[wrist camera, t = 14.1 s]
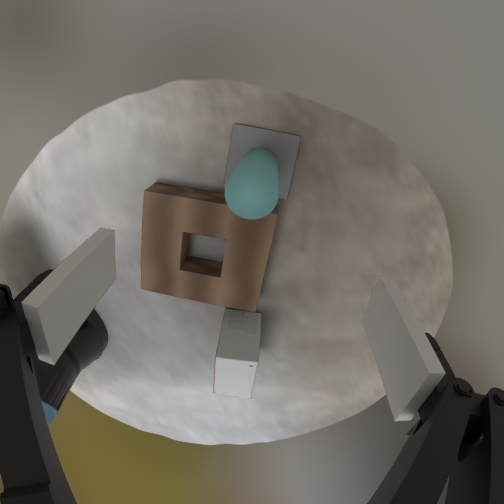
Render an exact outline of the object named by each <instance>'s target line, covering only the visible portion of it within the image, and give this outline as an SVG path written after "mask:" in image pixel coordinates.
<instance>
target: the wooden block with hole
mask: <svg viewBox="0 0 504 504" xmlns="http://www.w3.org/2000/svg"><path fill="white" fill-rule="evenodd" d="M277 216H278V209H277V204H276V206H275V208H274V209H273V210H272V212H270V213H269V214H268V215H267V216H265V217H262V218H259V219H245V218H242V217H240V216H238V215H236V214H235V213H234V212H233V211H232V210H231V209H230V208H229V206H228V205H227V203H226V200H225V194H221V193H215V192H209V191H204V190H198V189H192V188H186V187H180V186H173V185H167V184H161V183H154V184H153V185H151V186H150V187H149V188H147V189H146V190H145V191H144V201H143V219H142V247H141V289H144V290H148V291H153V292H157V293H162V294H166V295H171V296H175V297H180V298H185V299H190V300H194V301H199V302H204V303H209V304H214V305H219V306H225V307H230V308H235V309H240V310H246V311H251V312H255V311H256V307H257V303H258V299H259V294H260V290H261V286H262V282H263V277H264V273H265V269H266V264H267V260H268V256H269V251H270V247H271V242H272V238H273V234H274V229H275V225H276V220H277ZM189 233H193V234H199V235H204V236H209V237H215V238H220V239H225V240H226V246H225V252H224V258H223V263H221V262H216V261H211V260H205V259H200V258H195V257H190V256H187V247H188V238H189Z"/></svg>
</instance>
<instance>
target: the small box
mask: <svg viewBox="0 0 504 504" xmlns="http://www.w3.org/2000/svg"><path fill="white" fill-rule="evenodd" d="M260 337H261V313H256V312H248V311H240V310H233V309H225V313H224V317H223V322H222V327H221V332H220V337H219V342H218V347H217V352H216V356H215V371H214V388H213V393H216V394H222V395H229V396H236V397H244V398H252V392H253V387H254V382H255V377H256V372H257V368H258V364H259V353H260Z"/></svg>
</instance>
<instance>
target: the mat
mask: <svg viewBox="0 0 504 504" xmlns="http://www.w3.org/2000/svg"><path fill="white" fill-rule="evenodd" d="M300 139H301V136H296V135H292V134H287V133H282V132H277V131H272V130H267V129H262V128H257V127H251V126H245V125H239V124H234V125H233V131H232V137H231V142H230V148H229V154H228V160H227V166H226V172H225V178H224V185H223V188H225V186H226V184H227V181H228V180H229V178H230V177H231V175H232V174H233V172H234V170H235V169H236V167H237V166H238V164H239V163H240V161H241V160H242V158H243V157H244V156H245V154H246V153H247V152H248V151H250V150H251V149H254V148H258V147H261V148H266V149H268V150H270V151H272V152H273V153H274V154H275V156H276V157H277V160H278V171H279V197H278V198H281V199H286V200H287V197H288V193H289V189H290V184H291V180H292V175H293V171H294V166H295V162H296V157H297V153H298V148H299V143H300Z"/></svg>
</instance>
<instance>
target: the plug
mask: <svg viewBox="0 0 504 504" xmlns="http://www.w3.org/2000/svg"><path fill="white" fill-rule="evenodd" d="M278 197H279V171H278V160H277V157H276V156H275V154H274V153H273V152H272V151H270V150H268V149H266V148H261V147H258V148H254V149H251V150H250V151H248V152H247V153H246V154H245V156H244V157H243V158H242V160H241V161H240V163H239V164H238V166H237V167H236V169H235V170H234V172H233V174H232V175H231V177H230V178H229V180H228V181H227V184H226V186H225V200H226V203H227V205H228V206H229V208H230V209H231V210H232V211H233V212H234V213H235V214H236V215H238V216H240V217H242V218H245V219H259V218H262V217H265V216H267V215H268V214H269V213H270V212H272V210H273V209H274V208H275V206H276V204H277V202H278Z"/></svg>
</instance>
